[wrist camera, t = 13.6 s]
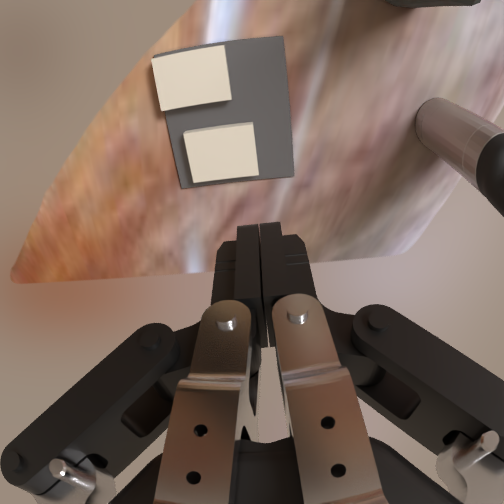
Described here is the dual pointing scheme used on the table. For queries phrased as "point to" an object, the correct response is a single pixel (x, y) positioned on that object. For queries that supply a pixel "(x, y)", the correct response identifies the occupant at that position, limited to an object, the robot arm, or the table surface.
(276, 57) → the mat
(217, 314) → the robot arm
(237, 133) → the tile
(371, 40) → the table surface
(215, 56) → the tile
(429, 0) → the bottle
